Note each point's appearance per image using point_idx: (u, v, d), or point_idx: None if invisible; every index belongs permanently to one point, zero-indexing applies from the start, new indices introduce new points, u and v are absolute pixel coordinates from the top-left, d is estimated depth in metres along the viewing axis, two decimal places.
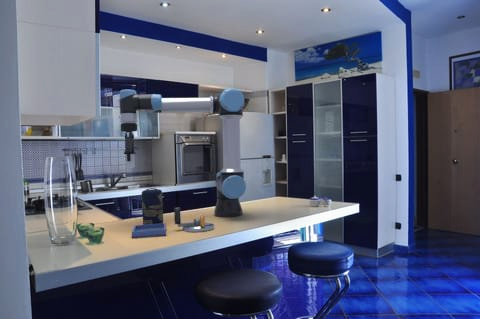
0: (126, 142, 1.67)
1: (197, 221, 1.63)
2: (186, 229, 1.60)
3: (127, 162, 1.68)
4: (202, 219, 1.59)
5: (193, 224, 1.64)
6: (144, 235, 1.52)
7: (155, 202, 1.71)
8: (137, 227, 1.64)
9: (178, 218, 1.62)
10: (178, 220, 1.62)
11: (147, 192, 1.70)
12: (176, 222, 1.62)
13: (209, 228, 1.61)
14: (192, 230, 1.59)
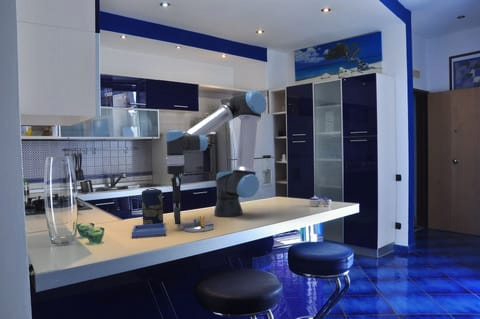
0: (176, 192, 1.62)
1: (197, 221, 1.63)
2: (186, 229, 1.60)
3: None
4: (202, 219, 1.59)
5: (193, 224, 1.64)
6: (144, 235, 1.52)
7: (155, 202, 1.71)
8: (137, 227, 1.64)
9: (178, 218, 1.62)
10: (178, 220, 1.62)
11: (147, 192, 1.70)
12: (176, 222, 1.62)
13: (209, 228, 1.61)
14: (192, 230, 1.59)
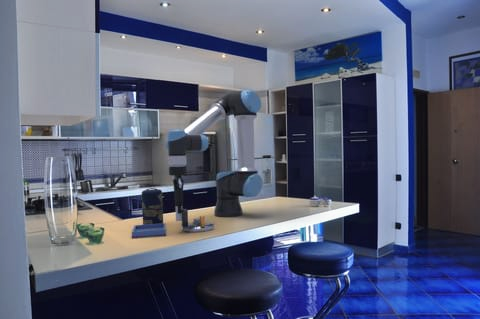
0: (178, 194, 1.55)
1: None
2: (186, 229, 1.60)
3: (177, 214, 1.59)
4: (202, 219, 1.59)
5: (197, 225, 1.63)
6: (144, 235, 1.52)
7: (155, 202, 1.71)
8: (137, 227, 1.64)
9: (187, 220, 1.57)
10: (187, 222, 1.57)
11: (147, 192, 1.70)
12: (186, 224, 1.57)
13: (209, 228, 1.61)
14: (192, 230, 1.59)
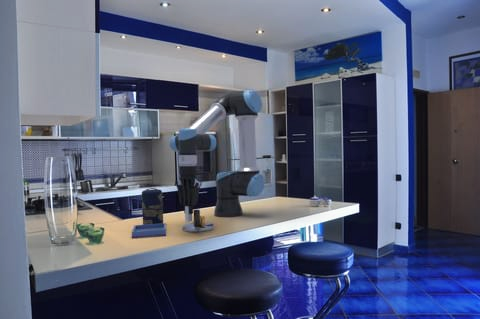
0: (195, 194, 1.53)
1: None
2: (186, 229, 1.60)
3: (188, 215, 1.55)
4: (202, 219, 1.59)
5: None
6: (144, 235, 1.52)
7: (155, 202, 1.71)
8: (137, 227, 1.64)
9: None
10: None
11: (147, 192, 1.70)
12: (199, 224, 1.56)
13: (209, 228, 1.61)
14: (192, 230, 1.59)
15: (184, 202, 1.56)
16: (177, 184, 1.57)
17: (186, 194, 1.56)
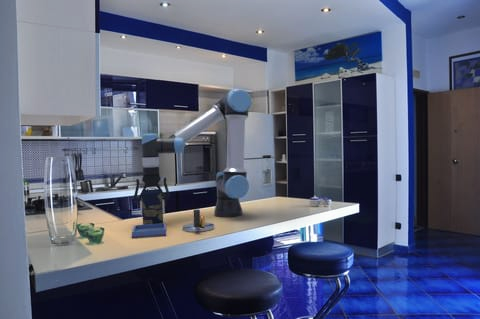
0: None
1: None
2: (186, 229, 1.60)
3: None
4: (202, 219, 1.59)
5: None
6: (144, 235, 1.52)
7: (155, 202, 1.71)
8: (137, 227, 1.64)
9: None
10: None
11: (147, 192, 1.70)
12: (199, 224, 1.56)
13: (209, 228, 1.61)
14: (192, 230, 1.59)
15: None
16: None
17: None
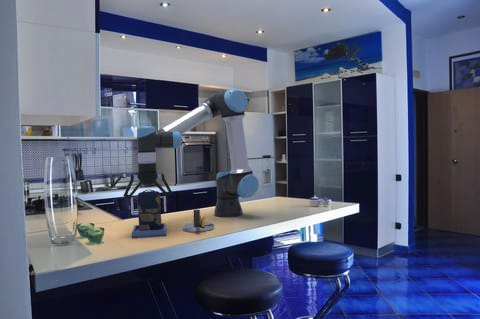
0: None
1: None
2: (186, 229, 1.60)
3: None
4: (202, 219, 1.59)
5: None
6: (144, 235, 1.52)
7: (152, 205, 1.55)
8: (137, 227, 1.64)
9: None
10: None
11: (144, 194, 1.55)
12: (199, 224, 1.56)
13: (209, 228, 1.61)
14: (192, 230, 1.59)
15: None
16: None
17: None
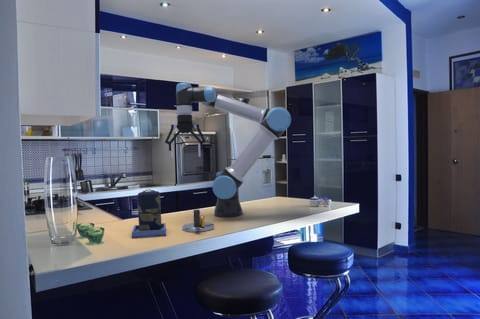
0: None
1: None
2: (186, 229, 1.60)
3: None
4: (202, 219, 1.59)
5: None
6: (144, 235, 1.52)
7: (152, 205, 1.55)
8: (137, 227, 1.64)
9: None
10: None
11: (144, 194, 1.55)
12: (199, 224, 1.56)
13: (209, 228, 1.61)
14: (192, 230, 1.59)
15: None
16: None
17: None
